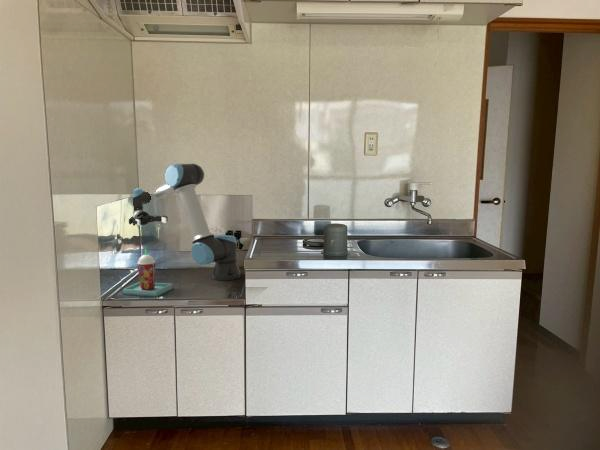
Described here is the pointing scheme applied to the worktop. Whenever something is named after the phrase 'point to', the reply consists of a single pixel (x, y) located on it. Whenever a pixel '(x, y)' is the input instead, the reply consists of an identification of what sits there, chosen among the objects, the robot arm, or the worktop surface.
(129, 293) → the tray
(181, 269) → the worktop surface
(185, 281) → the worktop surface
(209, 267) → the worktop surface
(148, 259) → the smoothie
